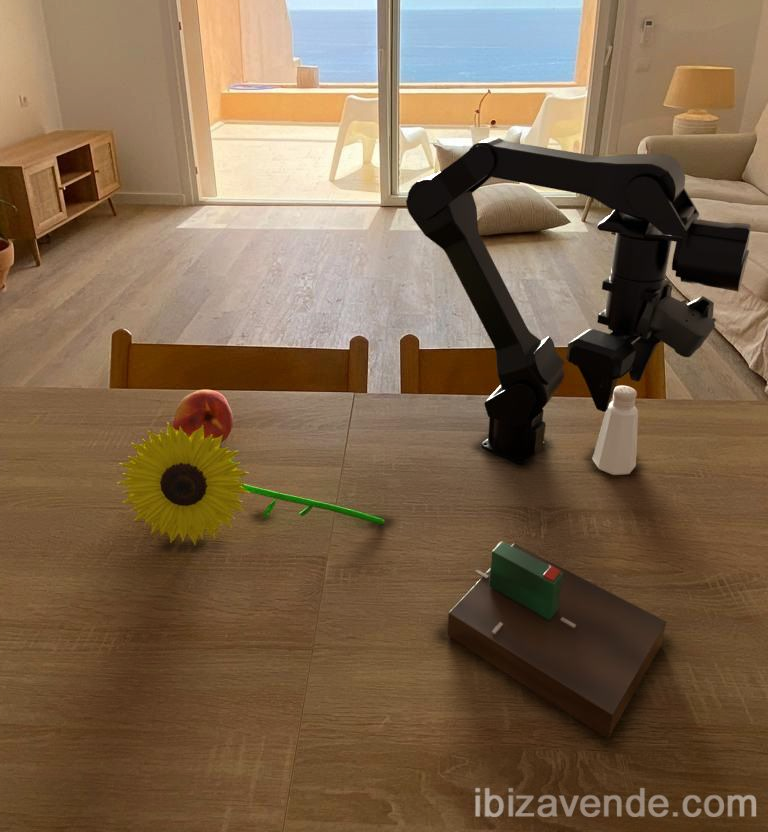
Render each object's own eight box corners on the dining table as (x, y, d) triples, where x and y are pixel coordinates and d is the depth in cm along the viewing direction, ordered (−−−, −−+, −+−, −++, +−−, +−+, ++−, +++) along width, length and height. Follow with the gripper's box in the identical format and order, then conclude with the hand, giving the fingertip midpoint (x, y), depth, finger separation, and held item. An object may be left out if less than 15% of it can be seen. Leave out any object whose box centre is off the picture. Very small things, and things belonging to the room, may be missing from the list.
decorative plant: (401, 460, 80) (145, 392, 77) (403, 483, 75) (127, 411, 72) (365, 568, 83) (118, 506, 81) (365, 598, 78) (100, 533, 75)
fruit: (175, 464, 91) (167, 412, 88) (177, 430, 98) (169, 381, 95) (236, 455, 93) (230, 404, 89) (234, 423, 100) (228, 374, 96)
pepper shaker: (613, 480, 87) (625, 405, 82) (583, 458, 91) (593, 385, 87) (644, 468, 89) (658, 394, 85) (614, 446, 94) (625, 375, 89)
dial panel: (607, 739, 57) (612, 713, 55) (440, 631, 66) (440, 606, 65) (661, 644, 65) (667, 619, 64) (505, 560, 75) (507, 537, 73)
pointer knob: (489, 586, 68) (491, 549, 66) (498, 575, 69) (501, 538, 67) (549, 621, 64) (554, 582, 62) (558, 609, 65) (563, 570, 63)
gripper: (679, 319, 65) (653, 456, 72) (742, 266, 78) (715, 387, 84) (571, 290, 72) (557, 417, 79) (645, 246, 85) (627, 359, 91)
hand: (618, 394), depth 83 cm, fingers open, 9 cm apart
